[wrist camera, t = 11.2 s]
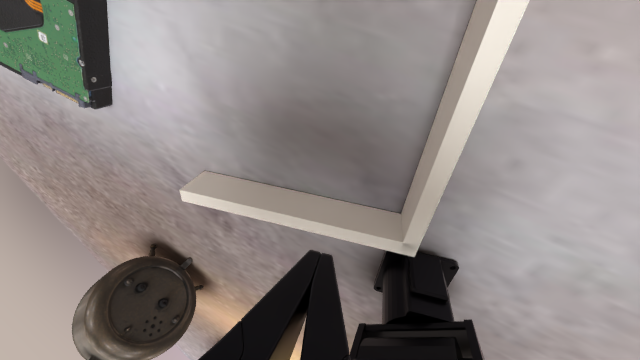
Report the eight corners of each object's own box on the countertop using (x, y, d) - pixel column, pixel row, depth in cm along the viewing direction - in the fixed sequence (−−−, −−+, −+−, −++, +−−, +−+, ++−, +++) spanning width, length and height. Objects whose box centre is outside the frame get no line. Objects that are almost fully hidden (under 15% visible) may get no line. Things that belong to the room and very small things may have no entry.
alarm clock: (142, 242, 34) (-24, 385, 20) (159, 228, 31) (-18, 381, 17) (202, 291, 37) (94, 445, 23) (223, 282, 34) (114, 449, 20)
